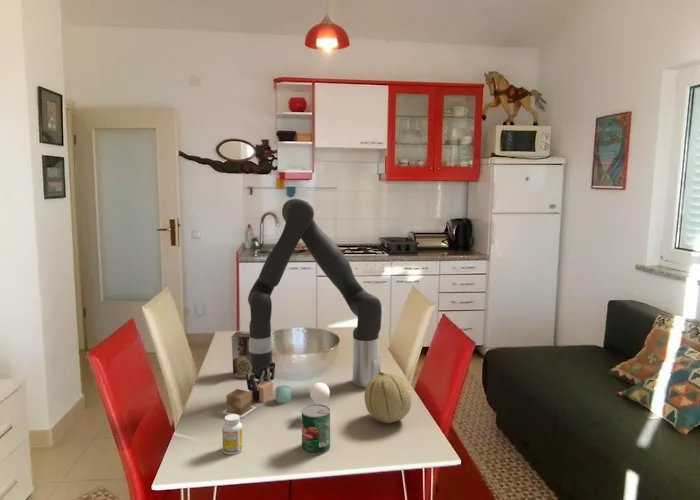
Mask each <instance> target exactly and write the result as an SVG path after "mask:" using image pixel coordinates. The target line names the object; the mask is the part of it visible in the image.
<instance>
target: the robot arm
mask: <svg viewBox="0 0 700 500" xmlns="http://www.w3.org/2000/svg"><path fill="white" fill-rule="evenodd" d="M281 215H282V218H283V220H284V222H285V224H284V228H283V231H282V233H281V235H280V236H279V239H278V240H277V242H276V243H275V245H273V246H274V247H273V248H272V249H271V251H270V252H269V254H268V255H267V257H266V259H265V261H264V264H263V266H262V268H261V271H260V273H259V276H258V277H257V279H256V280H255V282H254V283H253V286H252V287H251V289H250V291H249V293H248V296H247V303H248V304H249V305H248V306H249V308H250V310H249V311H250V321H249V326H248V327H249V332H250V339H249V362H250V364H251V365H252V372H251V373H250V374H248V373H247V374H246V385H247V391H250V390H252V392H253V400H252V401H255V402H260V401H259V400H260V398H259V388H260V384H261V383H262V380H263V381H268V382H272V381H273V380H275V372H276V371H275V370H276V363H275V362H273V341H272V325H271V324H272V323H271V319H272V318H271V317H272V311H273V310H272V308H273V307H272V306H273V305H272V299H271V298H272V297H271V296H272V293H273V291H274V289H275V288H276V287H278V285H279V284H280V281H281V280H282V278H283V276H284V273H285V271H286V268H287V266H288V264H289V261H290V259H291V257H292V256H293V253H294V251H295V249H296V248H297V246H298V244H299V242H300V240H301V241H302V242H303V244H304V245H305V247H306V248H307V250H308V251H309V253H310V254H311V256H312V257H313V260H315V262H316V264H317V265H318V266H319V268H320V269H321V270H322V272H323V273H324V275H326V277H327V278H328V279H329V280H330V282H331V284H332V285H334V286H335V287H336V289H337V290H338V291H339V292H340V294H341V295H342V297H343V299H344V300H345V302H346V304H347V306H348V307H349V309H350V311H351V312H352V313H353V314H354V316H356V317H357V324H356V325H357V326H356V327H355V328H354V329H353V331H352V384H353V385H354V386H356V387H358V388H365V389H366V387H367V385H368V383H369V382H370V381H371V380H372V379H373V378H375V377H377V376H379V375H381V374H379V372H381V356H379V341H380V339H379V335H380V332H381V329H382V328H381V327H382V315H383V312H382V303H381V300H380V299H379V298H378V297H377V296H374V295H373V294H371V293H369V292H367V291H366V289H365V288H363V286H362V285H361V284H360V283H359V282H358V280H357V279H356V277H355V274H354V273H353V270H352V266H351V264H350V262H349V260H348V259H347V257H346V255H345V254H344V252H343V251H342V250H341V249H340V247H339V246H338V245H337V244H336V243H335V242H334V241H333V240H332V239H331V238H330V237H329V236H328V234H326V233H325V232H324V231H323V230H322V229H321V227H320V226H318V224H317V222H316V221H315V219H314V216H315V211H314V208H313V206H312V205H311V203H309V202H308V201H306V200H303V199H299V198H292V199H289V200H286V201H285V203H283V205H282V209H281ZM258 380H259V381H258ZM255 383H257V387H256V384H255ZM251 385H252V386H251Z"/></svg>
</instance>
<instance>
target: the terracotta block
mask: <svg viewBox="0 0 700 500" xmlns="http://www.w3.org/2000/svg"><path fill="white" fill-rule="evenodd" d="M257 381H259V380H258V379H257ZM255 384H256V387H257V383H255ZM251 386H252V385H251ZM249 392H251V401H254V400H253V392H252V390H249ZM273 397H274V383H273V381H271V382H268V381H263V380H262V383H261V384H260V388H259V398H260V400H259V401H258V402H260V403H266V401H268V400H270V399H271V398H273Z"/></svg>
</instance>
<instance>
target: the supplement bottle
mask: <svg viewBox="0 0 700 500" xmlns="http://www.w3.org/2000/svg"><path fill="white" fill-rule="evenodd" d="M240 421H241V419H240V417H239V415H237V414H229V415H227V416H225V415H224V423H223V425H222V427H221V428H222V429H221V431H222V451H223V453H224V454H227V455H228V456H229V455H238V454H239V453H241V451H242V449H244V448H243V447H244V446H243V443H244V442H243V424H242V423H241V422H240Z"/></svg>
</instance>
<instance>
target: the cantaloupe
mask: <svg viewBox="0 0 700 500" xmlns="http://www.w3.org/2000/svg"><path fill="white" fill-rule="evenodd" d="M379 374H380V375H379V376H377V377H375V378H373V379H372V380H371V381H370V382H369V383H368V385H367V387H366V388H365V391H364V403H365V404H364V405H365V407H366V411H367V412H368V414H369V415H370V416H371V417H372V418H373V419H375V420H376V421H378V422H381V423H383V424H384V423H385V424H391V423H395V422H397V421H401V420H403V419H404V418H405V417H406V416H407V415H408V414H409V412H410V410H411V407H412V399H413V398H412V392H411V389H410V387H409V385H408V383H407V382H406V381H405V379H403V377H401V376H399V375H396V374H395V373H394V374H392V373H384V372H382V371H380V372H379Z"/></svg>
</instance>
